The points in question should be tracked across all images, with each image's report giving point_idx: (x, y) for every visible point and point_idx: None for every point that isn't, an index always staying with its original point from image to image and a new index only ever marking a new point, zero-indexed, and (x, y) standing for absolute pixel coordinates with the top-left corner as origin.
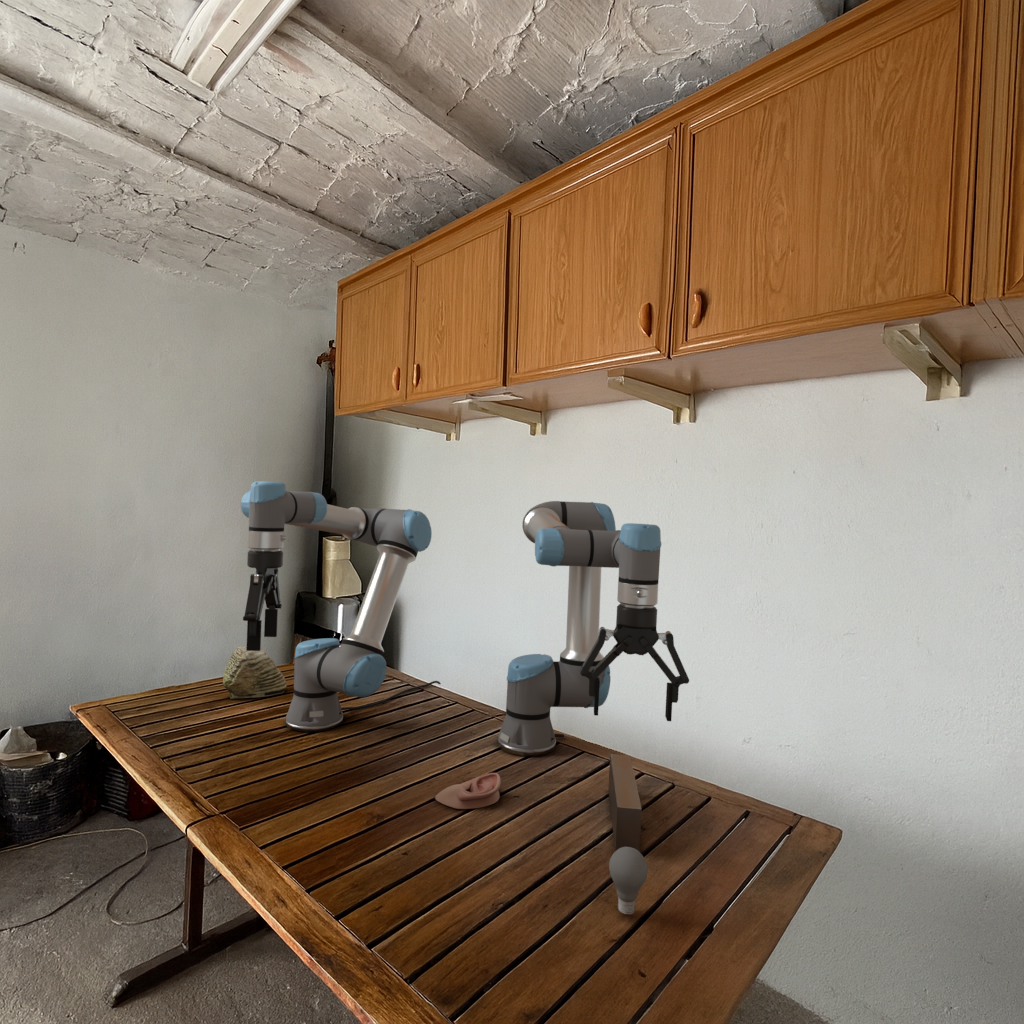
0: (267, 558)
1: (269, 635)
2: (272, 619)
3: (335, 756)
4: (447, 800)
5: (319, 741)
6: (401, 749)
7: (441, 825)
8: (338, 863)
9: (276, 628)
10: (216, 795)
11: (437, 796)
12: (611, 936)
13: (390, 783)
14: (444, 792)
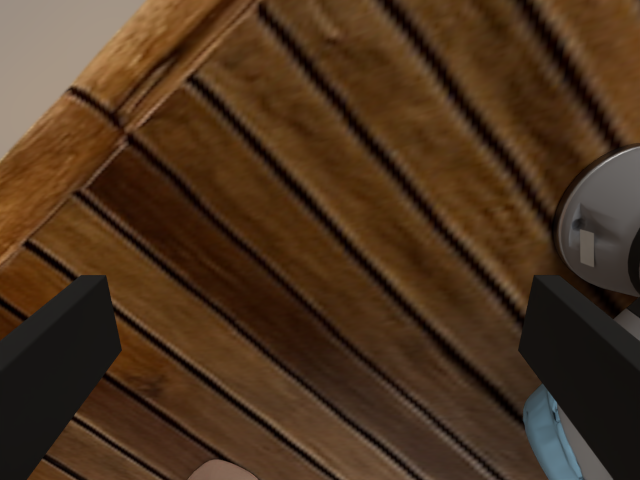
0: None
1: (533, 315)
2: (608, 431)
3: (399, 296)
4: (198, 477)
5: (491, 250)
6: (424, 405)
7: (139, 464)
8: None
9: (557, 394)
10: (202, 99)
11: (212, 465)
12: None
13: (272, 397)
14: (216, 477)
